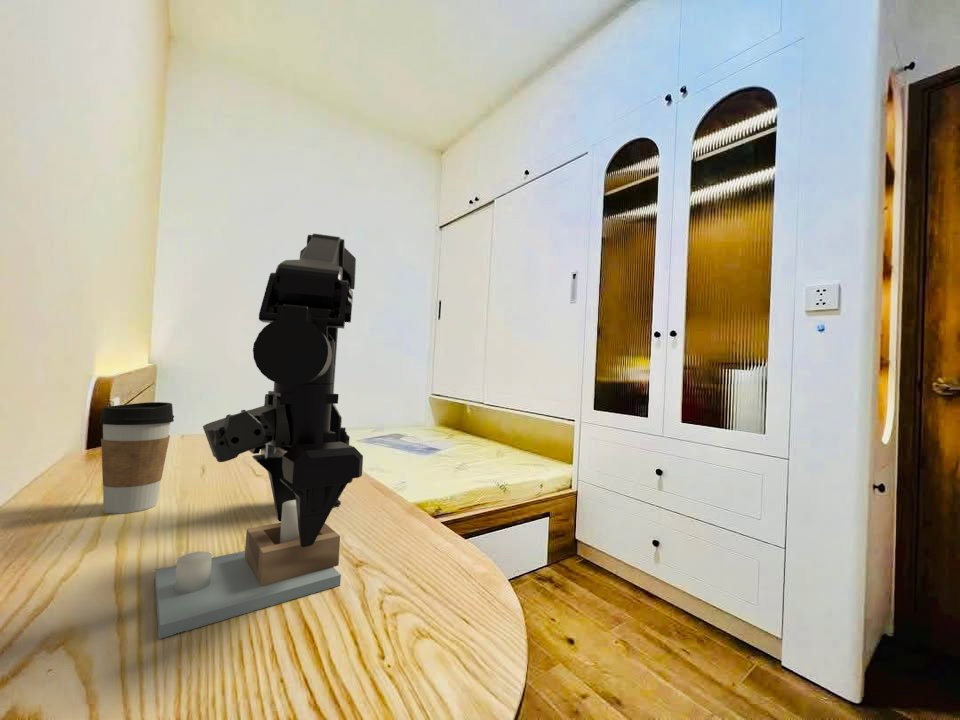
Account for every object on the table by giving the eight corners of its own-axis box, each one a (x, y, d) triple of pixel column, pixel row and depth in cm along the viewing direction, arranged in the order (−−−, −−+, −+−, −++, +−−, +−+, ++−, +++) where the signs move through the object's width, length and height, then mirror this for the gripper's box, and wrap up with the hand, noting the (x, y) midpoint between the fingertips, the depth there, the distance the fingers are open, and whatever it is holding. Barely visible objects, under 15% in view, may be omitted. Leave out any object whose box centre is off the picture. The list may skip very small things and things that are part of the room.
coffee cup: (180, 503, 61) (188, 404, 62) (115, 520, 53) (125, 406, 54) (143, 495, 64) (151, 401, 65) (76, 511, 56) (86, 403, 57)
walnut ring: (314, 542, 47) (316, 515, 47) (338, 565, 42) (340, 535, 42) (244, 557, 42) (246, 528, 43) (260, 586, 37) (263, 552, 37)
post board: (304, 546, 48) (308, 487, 48) (340, 585, 40) (344, 512, 40) (154, 580, 39) (160, 506, 39) (159, 639, 31) (166, 545, 31)
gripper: (202, 377, 45) (190, 520, 44) (232, 384, 31) (216, 595, 30) (306, 381, 52) (298, 503, 51) (369, 387, 38) (359, 557, 37)
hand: (294, 532), depth 42 cm, fingers open, 8 cm apart
